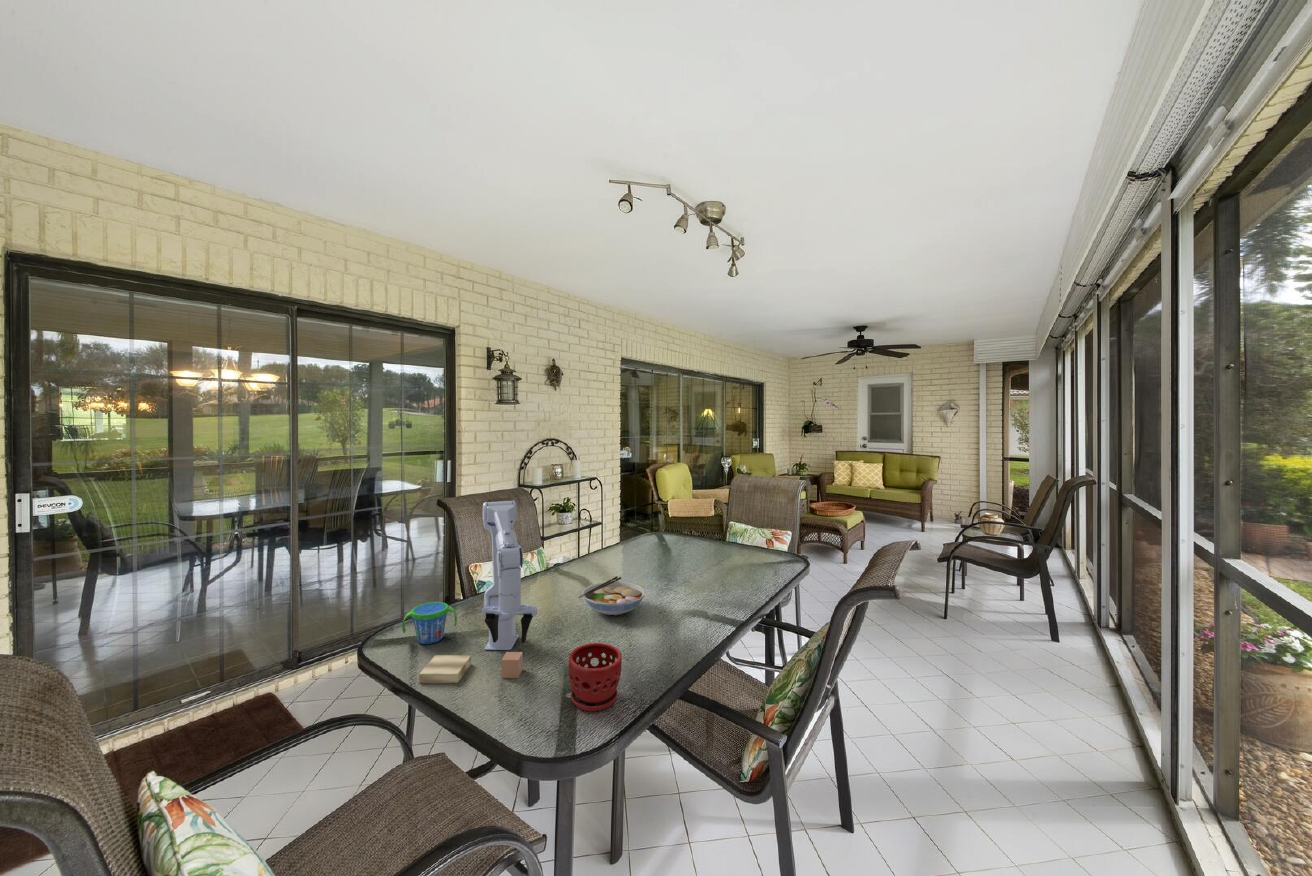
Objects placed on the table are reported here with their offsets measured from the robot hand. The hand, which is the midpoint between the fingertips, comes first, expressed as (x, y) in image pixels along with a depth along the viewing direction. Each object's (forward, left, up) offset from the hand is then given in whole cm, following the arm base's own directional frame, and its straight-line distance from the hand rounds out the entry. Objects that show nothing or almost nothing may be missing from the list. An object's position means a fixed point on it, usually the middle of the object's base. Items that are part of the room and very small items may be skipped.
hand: (509, 640), depth 134 cm
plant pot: (+12, +25, -10) cm, 29 cm away
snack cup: (-21, -30, -10) cm, 38 cm away
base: (-1, -17, -9) cm, 20 cm away
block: (-1, +1, -10) cm, 10 cm away
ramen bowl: (-44, +26, -10) cm, 51 cm away
